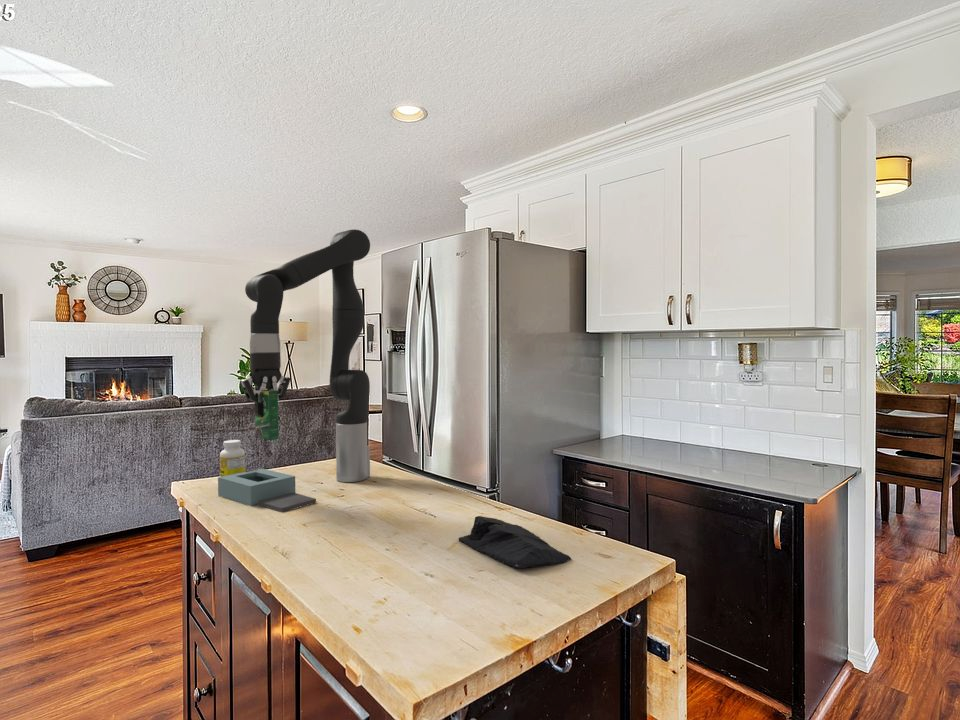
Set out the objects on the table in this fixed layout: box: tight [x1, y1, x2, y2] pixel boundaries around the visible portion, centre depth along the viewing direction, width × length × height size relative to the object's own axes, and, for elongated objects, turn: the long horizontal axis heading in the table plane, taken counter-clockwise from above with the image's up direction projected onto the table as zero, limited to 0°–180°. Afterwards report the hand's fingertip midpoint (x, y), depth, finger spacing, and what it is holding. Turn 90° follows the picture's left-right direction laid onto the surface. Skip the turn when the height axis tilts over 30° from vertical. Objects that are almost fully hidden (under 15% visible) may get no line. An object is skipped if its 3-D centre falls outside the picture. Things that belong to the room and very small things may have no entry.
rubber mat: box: [257, 492, 317, 513], centre depth 137 cm, size 10×10×1 cm
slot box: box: [217, 468, 296, 507], centre depth 145 cm, size 13×16×5 cm
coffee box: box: [254, 389, 279, 441], centre depth 142 cm, size 8×3×13 cm, turn 48°
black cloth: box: [458, 515, 572, 569], centre depth 106 cm, size 15×22×5 cm
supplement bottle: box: [219, 439, 246, 477], centre depth 156 cm, size 7×7×13 cm
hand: (266, 415), depth 142 cm, fingers closed on coffee box, 3 cm apart
